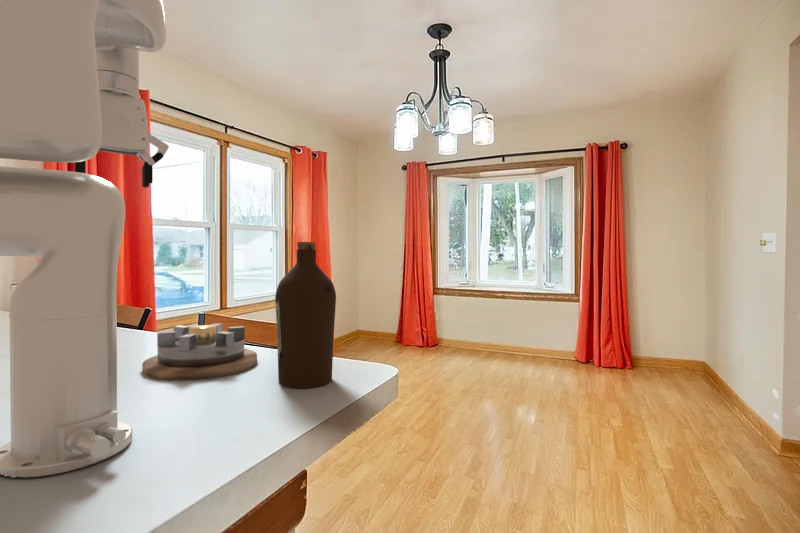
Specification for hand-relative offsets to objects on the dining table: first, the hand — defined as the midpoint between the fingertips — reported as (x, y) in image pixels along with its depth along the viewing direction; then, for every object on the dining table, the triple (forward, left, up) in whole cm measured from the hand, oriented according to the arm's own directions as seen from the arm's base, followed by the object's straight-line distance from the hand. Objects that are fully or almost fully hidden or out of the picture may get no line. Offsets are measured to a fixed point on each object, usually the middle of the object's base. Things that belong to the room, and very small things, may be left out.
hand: (115, 184), depth 79 cm
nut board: (-7, -13, -35) cm, 38 cm away
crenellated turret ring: (-7, -13, -33) cm, 37 cm away
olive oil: (-32, -15, -35) cm, 50 cm away
